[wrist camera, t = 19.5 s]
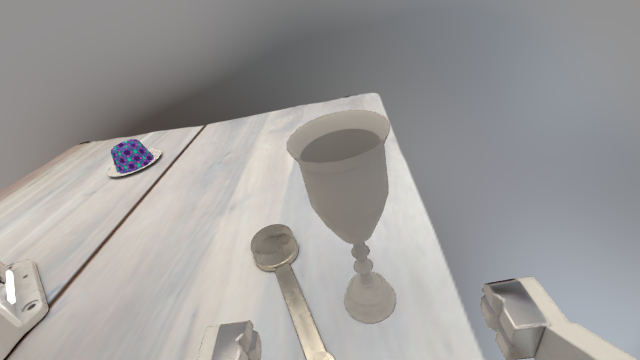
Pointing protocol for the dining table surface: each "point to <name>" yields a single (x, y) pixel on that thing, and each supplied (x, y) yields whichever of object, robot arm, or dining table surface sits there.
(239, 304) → the dining table surface
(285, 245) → the spoon
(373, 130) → the chalice
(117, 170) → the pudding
